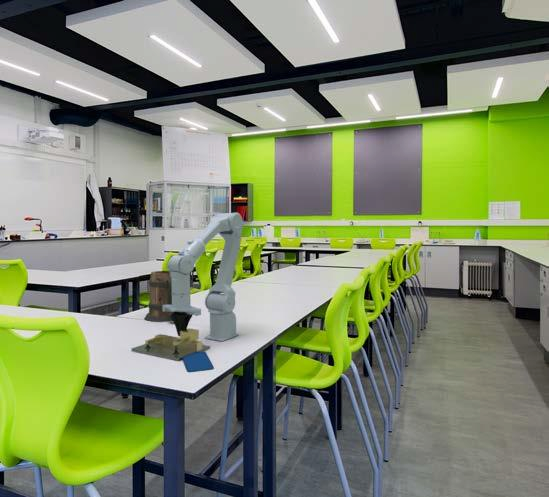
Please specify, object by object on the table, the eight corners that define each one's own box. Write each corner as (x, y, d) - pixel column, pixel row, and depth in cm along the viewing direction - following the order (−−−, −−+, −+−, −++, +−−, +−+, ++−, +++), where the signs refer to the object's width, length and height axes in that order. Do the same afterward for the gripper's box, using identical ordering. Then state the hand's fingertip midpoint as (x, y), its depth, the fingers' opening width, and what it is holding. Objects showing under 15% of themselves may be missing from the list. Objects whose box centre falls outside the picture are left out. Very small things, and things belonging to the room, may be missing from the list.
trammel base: (164, 340, 138) (164, 330, 138) (209, 348, 128) (209, 338, 128) (131, 350, 126) (131, 340, 126) (178, 361, 116) (178, 350, 116)
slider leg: (189, 344, 128) (189, 328, 128) (198, 346, 126) (198, 329, 126) (170, 352, 121) (169, 334, 121) (179, 354, 119) (179, 336, 119)
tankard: (139, 316, 176) (138, 270, 175) (177, 311, 185) (176, 268, 184) (153, 327, 156) (152, 276, 155) (194, 322, 165) (194, 273, 163)
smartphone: (187, 371, 107) (180, 353, 121) (187, 375, 107) (180, 356, 121) (214, 368, 109) (205, 351, 123) (214, 371, 109) (205, 354, 123)
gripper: (155, 293, 127) (155, 335, 127) (189, 297, 119) (190, 342, 120) (171, 290, 133) (171, 330, 133) (205, 293, 125) (205, 336, 126)
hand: (181, 335), depth 127 cm, fingers closed
